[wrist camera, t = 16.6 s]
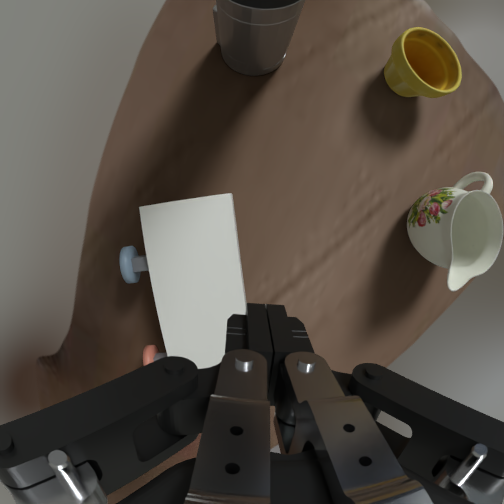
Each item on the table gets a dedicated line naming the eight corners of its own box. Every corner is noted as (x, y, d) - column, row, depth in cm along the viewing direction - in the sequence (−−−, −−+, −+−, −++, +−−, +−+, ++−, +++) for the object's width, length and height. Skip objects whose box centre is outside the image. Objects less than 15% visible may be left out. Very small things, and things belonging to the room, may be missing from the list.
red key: (156, 367, 40) (149, 384, 36) (149, 339, 39) (140, 354, 35) (216, 363, 40) (214, 380, 36) (210, 334, 39) (207, 350, 35)
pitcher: (469, 196, 42) (527, 199, 29) (418, 284, 44) (470, 312, 31) (430, 152, 41) (488, 141, 27) (372, 244, 43) (423, 263, 29)
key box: (191, 375, 45) (182, 410, 36) (159, 205, 41) (139, 206, 32) (255, 369, 45) (259, 404, 36) (232, 194, 41) (231, 193, 32)
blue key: (135, 278, 38) (124, 287, 33) (129, 244, 37) (116, 249, 33) (200, 270, 38) (195, 279, 34) (194, 235, 37) (189, 239, 33)
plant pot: (413, 122, 40) (449, 108, 30) (361, 78, 39) (389, 53, 29) (435, 81, 39) (469, 64, 29) (389, 40, 38) (416, 14, 28)
